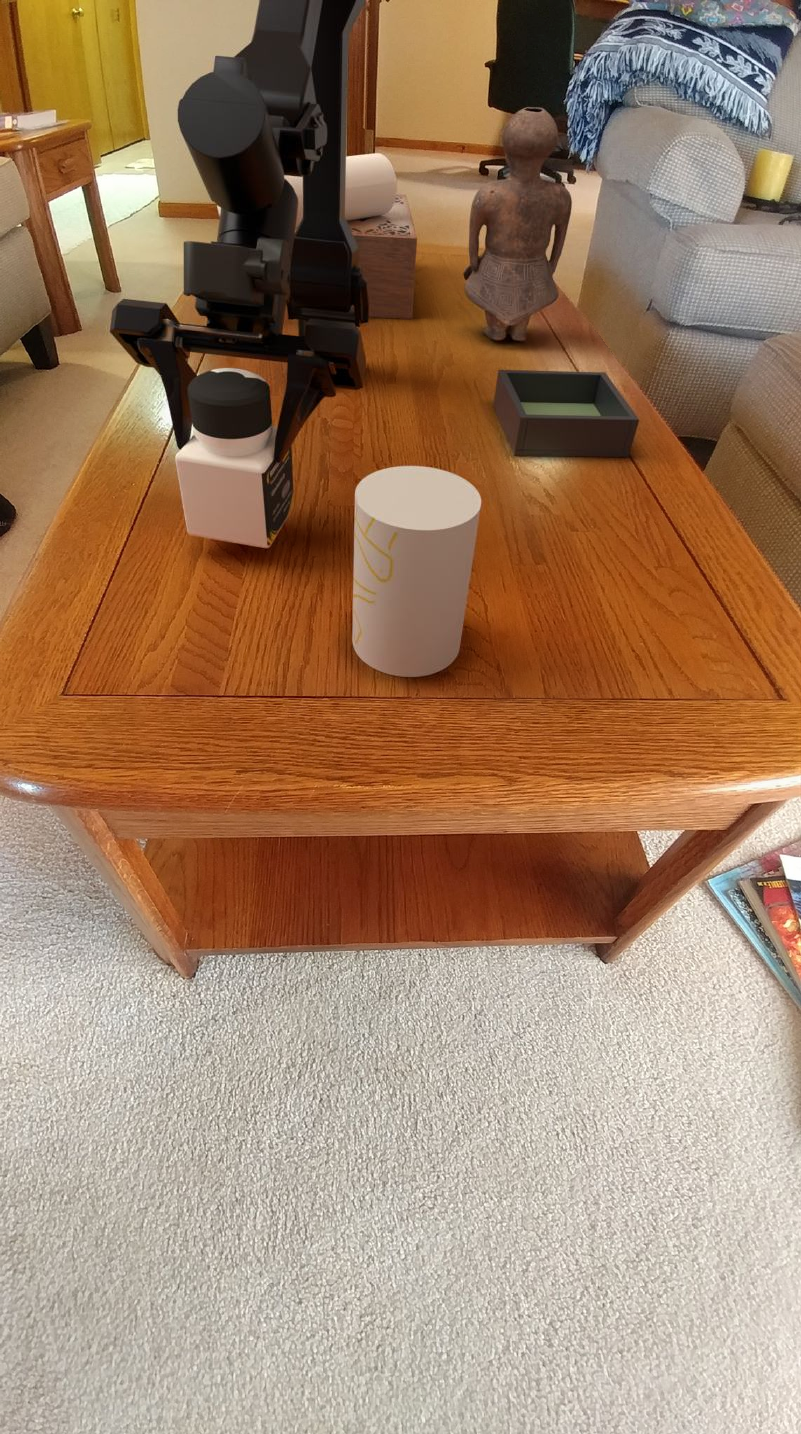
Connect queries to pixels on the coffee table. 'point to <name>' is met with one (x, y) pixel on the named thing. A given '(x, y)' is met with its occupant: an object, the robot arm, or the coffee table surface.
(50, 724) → the coffee table surface
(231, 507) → the medicine bottle
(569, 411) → the holder
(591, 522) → the coffee table surface
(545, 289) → the clay figurine
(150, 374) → the coffee table surface
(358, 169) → the cylindrical container
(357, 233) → the tissue box cover
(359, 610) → the yellow-doodled white cylinder
